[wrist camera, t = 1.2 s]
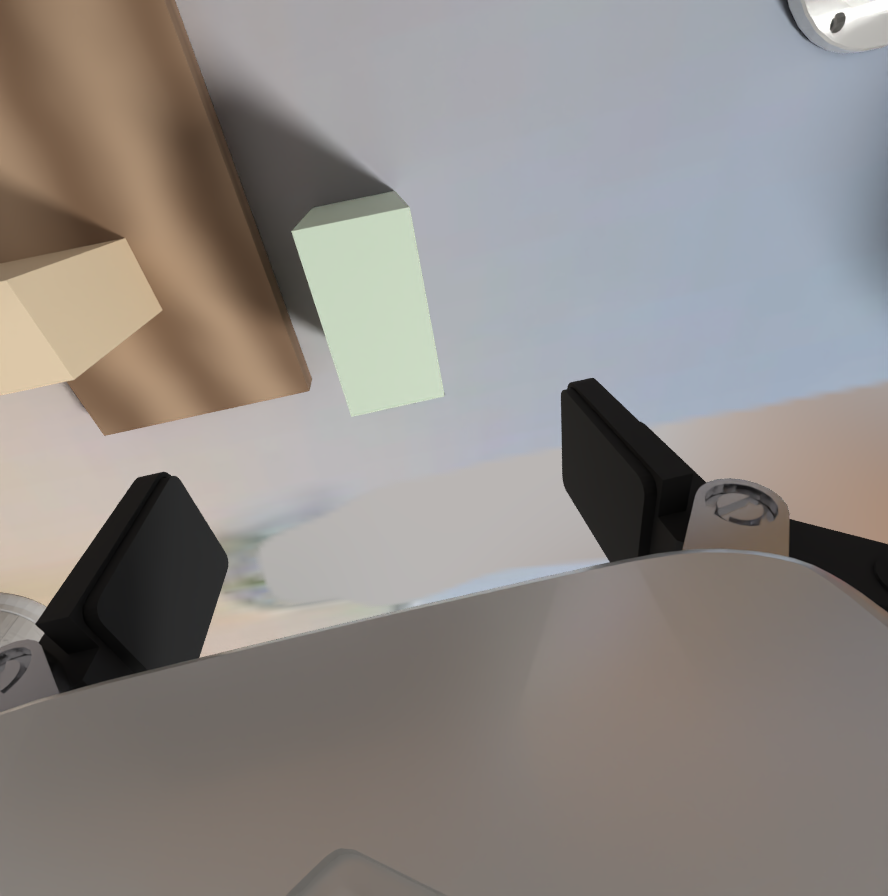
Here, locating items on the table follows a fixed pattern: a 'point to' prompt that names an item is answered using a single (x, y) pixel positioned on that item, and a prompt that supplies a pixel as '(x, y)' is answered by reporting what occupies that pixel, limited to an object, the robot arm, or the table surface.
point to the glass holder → (19, 619)
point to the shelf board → (140, 205)
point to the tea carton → (371, 300)
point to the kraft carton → (68, 312)
